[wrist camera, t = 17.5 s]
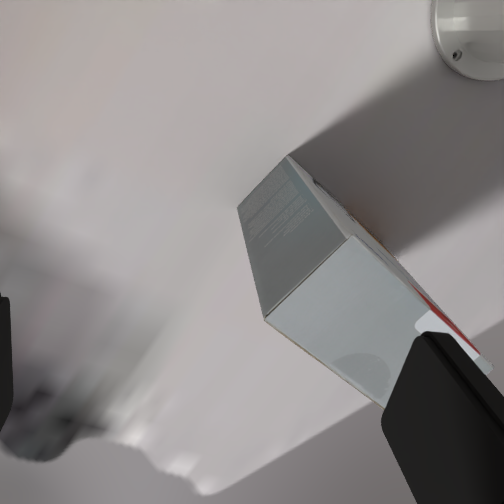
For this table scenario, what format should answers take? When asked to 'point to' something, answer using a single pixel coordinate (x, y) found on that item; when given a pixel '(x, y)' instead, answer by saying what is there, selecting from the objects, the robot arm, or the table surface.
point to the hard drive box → (336, 284)
